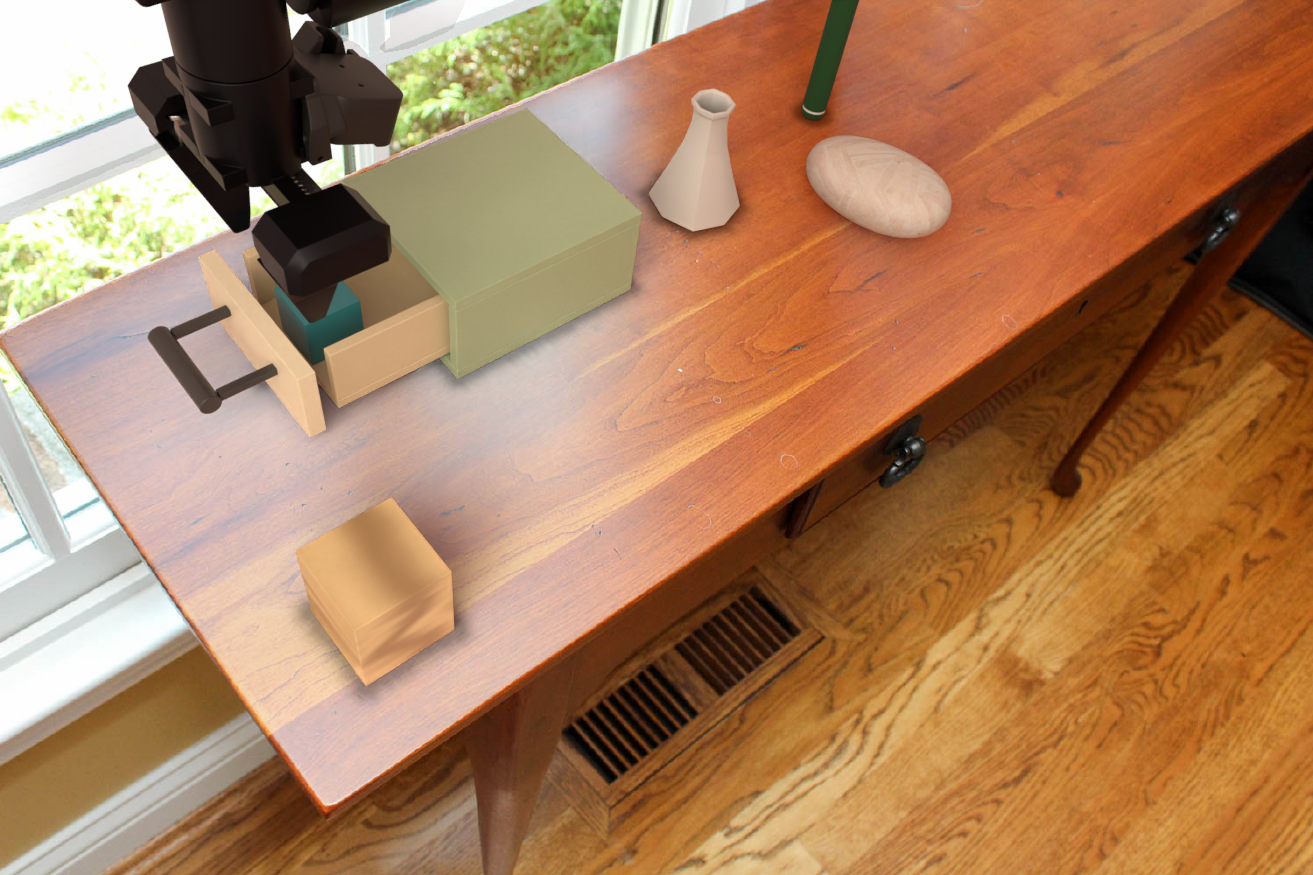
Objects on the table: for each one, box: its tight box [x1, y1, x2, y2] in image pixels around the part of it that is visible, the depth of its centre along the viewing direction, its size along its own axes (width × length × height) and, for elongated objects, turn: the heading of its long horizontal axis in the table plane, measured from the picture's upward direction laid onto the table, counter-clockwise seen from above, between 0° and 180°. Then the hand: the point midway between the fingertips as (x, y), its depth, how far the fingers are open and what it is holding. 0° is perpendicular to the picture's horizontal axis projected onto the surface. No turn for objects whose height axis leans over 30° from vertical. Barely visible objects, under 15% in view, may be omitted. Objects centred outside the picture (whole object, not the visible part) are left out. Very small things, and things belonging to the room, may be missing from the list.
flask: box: [648, 87, 741, 232], centre depth 85 cm, size 7×7×10 cm
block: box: [274, 281, 364, 365], centre depth 71 cm, size 4×4×4 cm
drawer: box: [147, 243, 450, 439], centre depth 71 cm, size 20×13×6 cm, turn 130°
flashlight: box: [801, 0, 860, 122], centre depth 90 cm, size 5×5×20 cm
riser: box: [295, 496, 455, 687], centre depth 61 cm, size 6×6×7 cm
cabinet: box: [341, 107, 643, 380], centre depth 78 cm, size 16×14×8 cm
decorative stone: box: [805, 134, 953, 239], centre depth 89 cm, size 13×9×5 cm
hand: (278, 273), depth 66 cm, fingers open, 9 cm apart
